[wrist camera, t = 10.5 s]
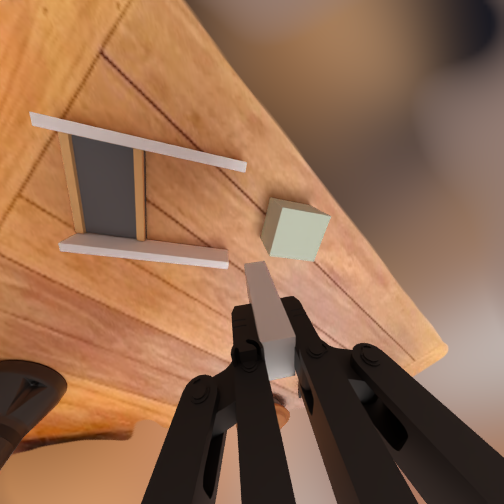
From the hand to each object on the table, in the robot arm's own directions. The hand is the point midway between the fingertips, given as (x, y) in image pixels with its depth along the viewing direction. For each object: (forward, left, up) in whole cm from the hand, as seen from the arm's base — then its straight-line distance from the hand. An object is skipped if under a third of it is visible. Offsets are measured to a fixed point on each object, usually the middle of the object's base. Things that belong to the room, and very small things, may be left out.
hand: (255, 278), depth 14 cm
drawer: (-18, 0, -19) cm, 26 cm away
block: (+8, 0, -19) cm, 21 cm away
